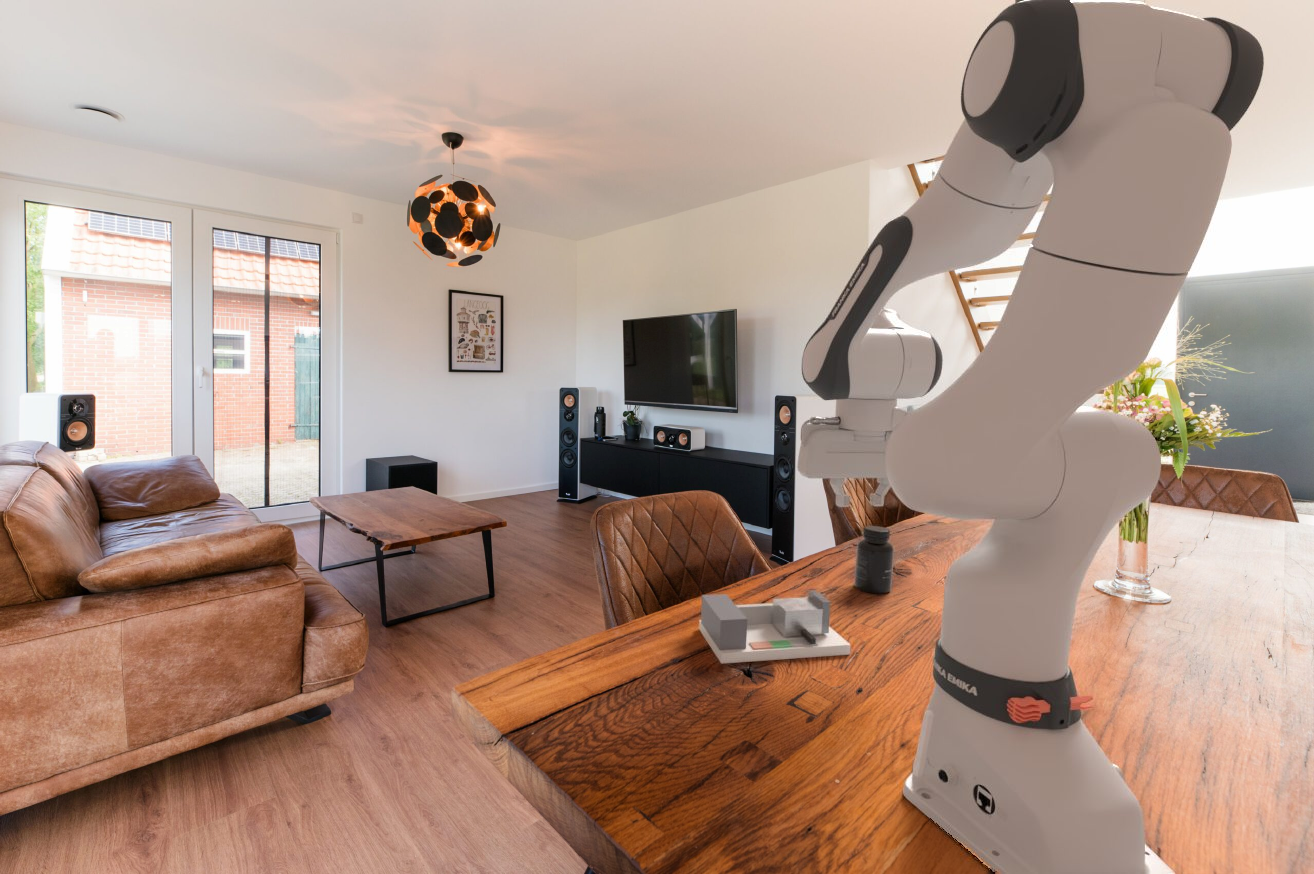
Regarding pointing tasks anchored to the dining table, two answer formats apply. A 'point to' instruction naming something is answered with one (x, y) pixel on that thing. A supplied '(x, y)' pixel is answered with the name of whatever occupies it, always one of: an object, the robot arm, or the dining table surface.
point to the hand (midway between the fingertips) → (859, 506)
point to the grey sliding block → (802, 616)
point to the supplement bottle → (874, 561)
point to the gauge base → (757, 634)
